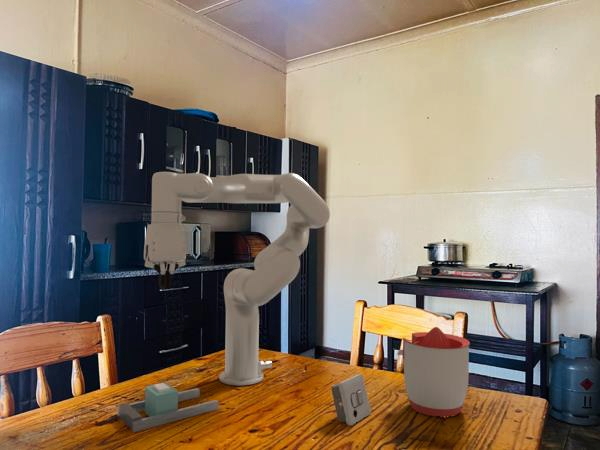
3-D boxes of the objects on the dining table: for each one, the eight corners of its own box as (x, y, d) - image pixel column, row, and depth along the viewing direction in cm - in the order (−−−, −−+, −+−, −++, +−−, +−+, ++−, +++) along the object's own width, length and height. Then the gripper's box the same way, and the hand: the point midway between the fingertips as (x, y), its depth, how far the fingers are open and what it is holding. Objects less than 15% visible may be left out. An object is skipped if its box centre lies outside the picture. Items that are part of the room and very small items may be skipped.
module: (165, 407, 109) (165, 379, 109) (177, 417, 103) (177, 388, 103) (144, 412, 105) (145, 384, 105) (156, 422, 100) (156, 393, 100)
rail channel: (197, 395, 116) (197, 385, 116) (218, 409, 108) (218, 398, 108) (117, 415, 103) (117, 404, 103) (133, 432, 95) (134, 420, 95)
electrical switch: (350, 427, 99) (347, 384, 99) (331, 423, 102) (328, 381, 103) (371, 414, 106) (369, 374, 107) (353, 411, 109) (350, 372, 110)
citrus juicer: (409, 391, 122) (410, 317, 122) (476, 406, 112) (477, 325, 112) (385, 409, 109) (386, 326, 109) (458, 428, 99) (459, 337, 99)
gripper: (186, 220, 126) (185, 285, 126) (132, 218, 117) (131, 289, 117) (198, 220, 120) (197, 288, 120) (143, 218, 111) (142, 293, 111)
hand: (165, 288), depth 118 cm, fingers closed
